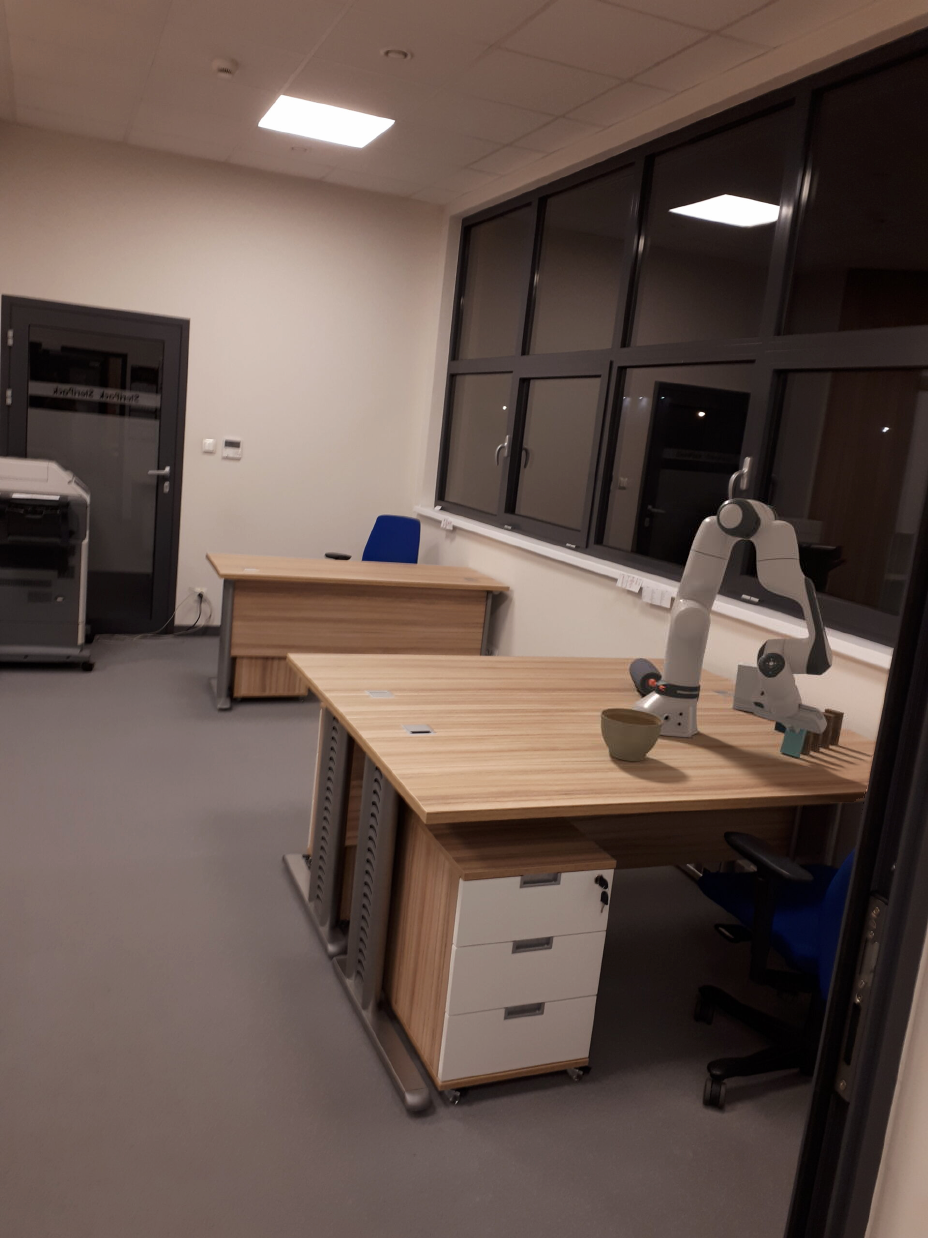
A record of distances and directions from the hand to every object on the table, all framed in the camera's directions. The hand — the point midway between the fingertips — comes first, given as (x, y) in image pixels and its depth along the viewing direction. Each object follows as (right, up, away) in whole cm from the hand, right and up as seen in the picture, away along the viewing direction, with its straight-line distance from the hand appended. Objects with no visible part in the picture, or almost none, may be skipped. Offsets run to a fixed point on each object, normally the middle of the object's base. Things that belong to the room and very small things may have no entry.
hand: (794, 730), depth 266 cm
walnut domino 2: (+8, -7, +11) cm, 15 cm away
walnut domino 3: (+13, -6, +15) cm, 21 cm away
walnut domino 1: (+4, -7, +6) cm, 10 cm away
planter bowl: (-50, -5, -17) cm, 53 cm away
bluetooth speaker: (-30, +6, +62) cm, 69 cm away
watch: (+7, -4, +27) cm, 29 cm away
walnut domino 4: (+17, -6, +20) cm, 27 cm away
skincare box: (+1, +1, +51) cm, 51 cm away
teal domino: (-1, -7, +1) cm, 7 cm away
